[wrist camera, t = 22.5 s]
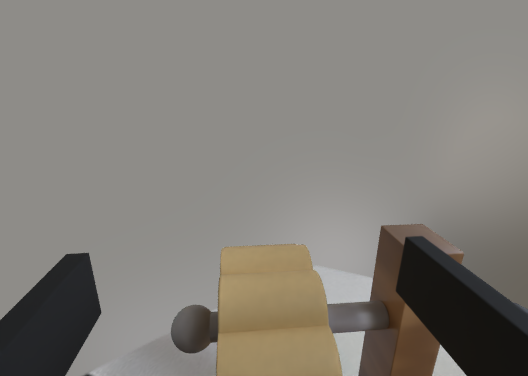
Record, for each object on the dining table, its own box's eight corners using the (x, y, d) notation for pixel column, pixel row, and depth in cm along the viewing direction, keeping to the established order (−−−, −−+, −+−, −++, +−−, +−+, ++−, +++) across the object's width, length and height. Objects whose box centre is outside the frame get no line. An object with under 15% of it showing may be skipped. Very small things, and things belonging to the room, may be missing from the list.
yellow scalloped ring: (225, 589, 12) (209, 394, 8) (229, 346, 23) (223, 213, 19) (330, 572, 12) (367, 379, 8) (284, 341, 23) (291, 211, 19)
